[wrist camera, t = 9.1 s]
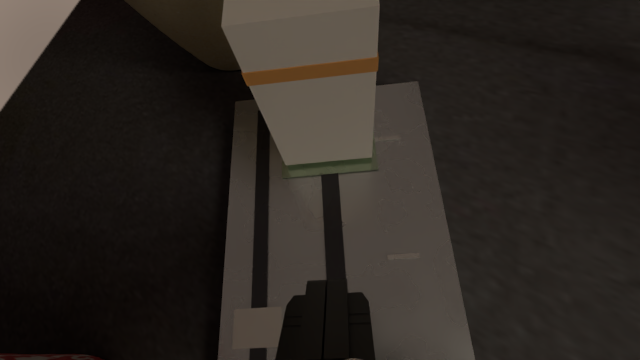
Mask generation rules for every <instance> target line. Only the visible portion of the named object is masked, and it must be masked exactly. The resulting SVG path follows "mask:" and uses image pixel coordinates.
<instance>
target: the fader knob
mask: <svg viewBox="0 0 640 360" xmlns="http://www.w3.org/2000/svg"><path fill="white" fill-rule="evenodd" d="M379 9H380V5H379V0H224V4H223V14H222V24H221V27H222V29H223V31H224V33H225V36H226V38H227V40H228V42H229V44H230V46H231V49H232V51H233V53H234V55H235V57H236V59H237V61H238V64H239V66H240V68H241V70H242V73H241V74H242V76H243V78H244V81H245V83H246V85H247V86H249V87H250V90H251V92H252V94H253V96H254V98H255V100H256V102H257V105H258V107H259V109H260V111H261V113H262V115H263V118H264V120H265V122H266V124H267V126H268V128H269V130H270V133H271V135H272V137H273V139H274V141H275V143H276V146H277V148H278V150H279V152H280V154H281V156H282V158H283V161H284V163H285V165H296V164H306V163H317V162H328V161H338V160H349V159H360V158H371V157H372V148H373V129H374V109H375V89H376V71H378V61H379V57H378V50H377V49H378V29H379Z"/></svg>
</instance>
